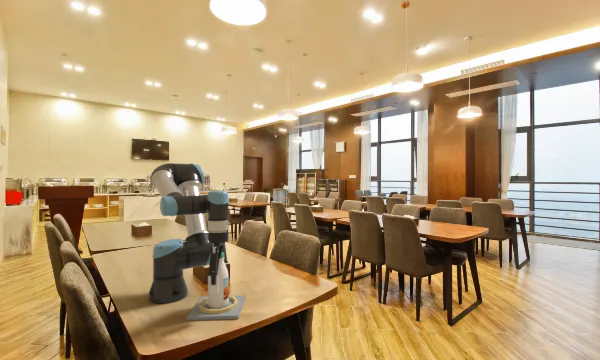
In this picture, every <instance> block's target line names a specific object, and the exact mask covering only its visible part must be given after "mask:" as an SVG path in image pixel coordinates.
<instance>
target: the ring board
mask: <svg viewBox="0 0 600 360" xmlns="http://www.w3.org/2000/svg"><path fill="white" fill-rule="evenodd" d="M245 301H246V295H245V294H244V295H243V294H242V295H241V294H240V295H230V294H229V303H228V305H227V306H226V307H223V308H219V309H213V308H210V307H209V306H208V295H203V296H202V295H201V296H200V298H199V299H198V301H197V302H196V303H195V305H194V306H193V307H192V309H191V310H190V311H189V312H188V314H187V316H186V321H207V320H208V321H209V320H210V321H211V320H214V321H215V320H238V319H239V318H240V315H241V314H242V313H241V312H242V309H243V306H244V303H245Z"/></svg>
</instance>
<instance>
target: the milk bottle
mask: <svg viewBox="0 0 600 360" xmlns="http://www.w3.org/2000/svg"><path fill="white" fill-rule="evenodd" d="M225 264H226V263H224V252H222V255H221V258H220V260H219V266H218V273H217V275H218V293H211V294H210V276H208V275H207V296H208V306H209V307H210V308H213V309H219V308H223V307H226V306H227V305H228V303H229V295H230V286H229V285H230V283H229V279H230V278H229V270H228V268H227V265H226V266H225ZM213 272H214V271H213Z"/></svg>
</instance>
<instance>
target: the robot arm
mask: <svg viewBox="0 0 600 360" xmlns="http://www.w3.org/2000/svg"><path fill="white" fill-rule="evenodd" d="M150 183H151V184H152V186H153V187H154V188H156V189H157V191H158V192H159V195H160V201H159V208H160V213H161V215H162V216H164V217H176V216H184V218H185V224H186V231H187V236H186V237H185V240H183V239H182V238H171V239H166V240H163V241H160V242H158V243H156V244H155V245H154V247H153V249H152V250H153V251H152V264H153V265H152V282H151V286H150V287H149V292H148V301H149V302H150V301H151V302H150V303H153V302H154V303H153V304H168V303H169V304H170V303H174V302H177V301H179V300H183V299H184V298H185V297H187V295H188V285H187V283H186V280H185V278H184V270H187V269H192V268H199V267H206V266H208V273H207V277H208V276H210V294H211V293H218V275H217V273H218V266H219V260H220V258H221V255H222V252H224V263H225V266H226V267H227V265H226V264H228V263H229V261H228V256H227V248H226V242H228V241H229V231H228V230H229V225H230V224H231V223H230V221H229V201H230V199H229V194H228V191H226V190H210V191H208V194H201V191H200V190H201V189H202V186H203V185H204V183H205V174H204V170H203V168H202V166H200V165H199V164H197V163H172V162H171V163H169V162H168V163H164V164H160V165H159V166H157V167H156V168H154V169H153V171H151V175H150ZM205 214H207V221H206V219H205V218H206V217H205ZM206 222H207V224H206ZM213 271H214V272H213Z"/></svg>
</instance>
